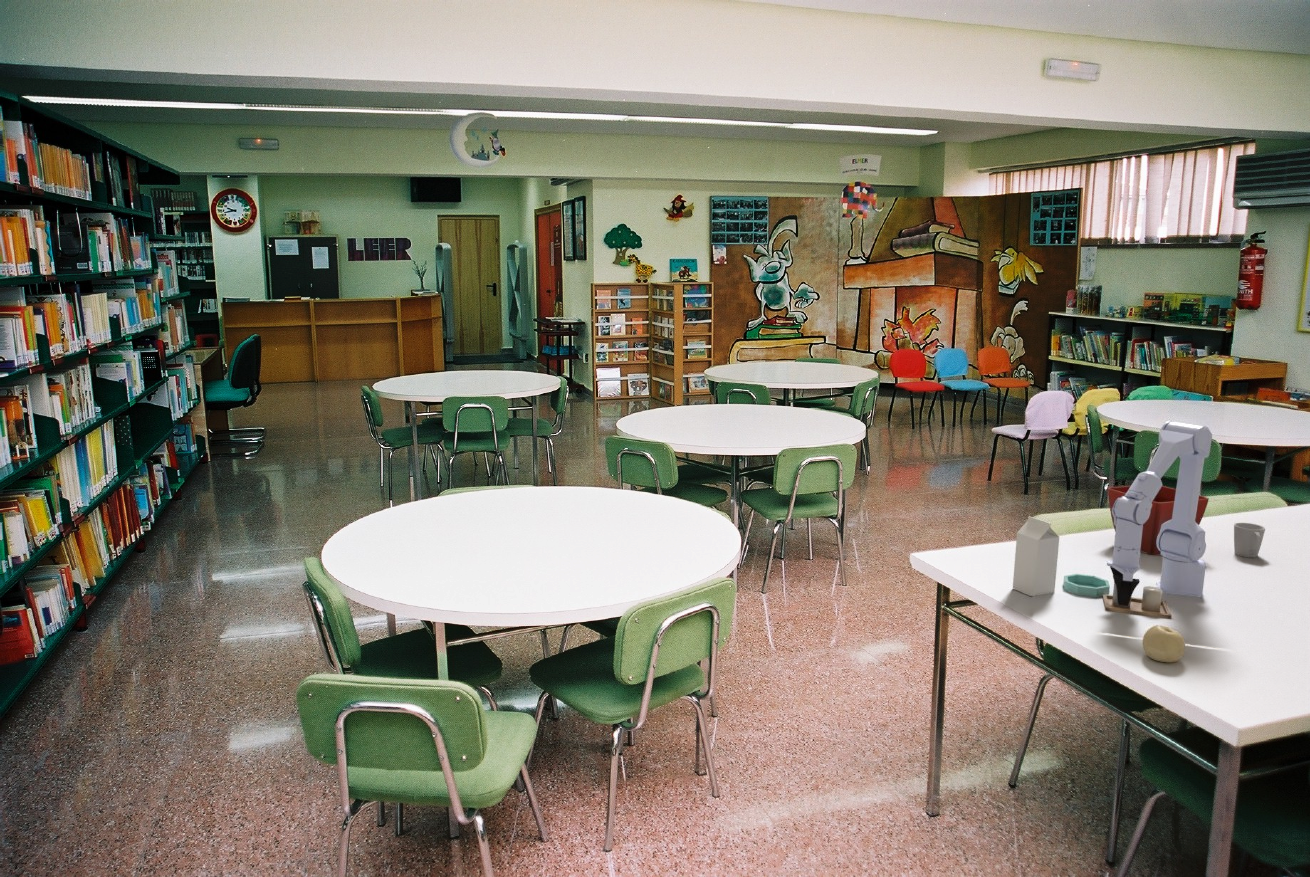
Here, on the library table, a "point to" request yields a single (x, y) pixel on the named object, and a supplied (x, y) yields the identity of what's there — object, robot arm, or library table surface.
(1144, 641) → the apple
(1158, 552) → the plant pot
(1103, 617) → the library table surface
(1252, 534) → the cup
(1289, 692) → the library table surface
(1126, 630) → the library table surface
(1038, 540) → the milk carton
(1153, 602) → the pebble light
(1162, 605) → the tray
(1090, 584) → the dish
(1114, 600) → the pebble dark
